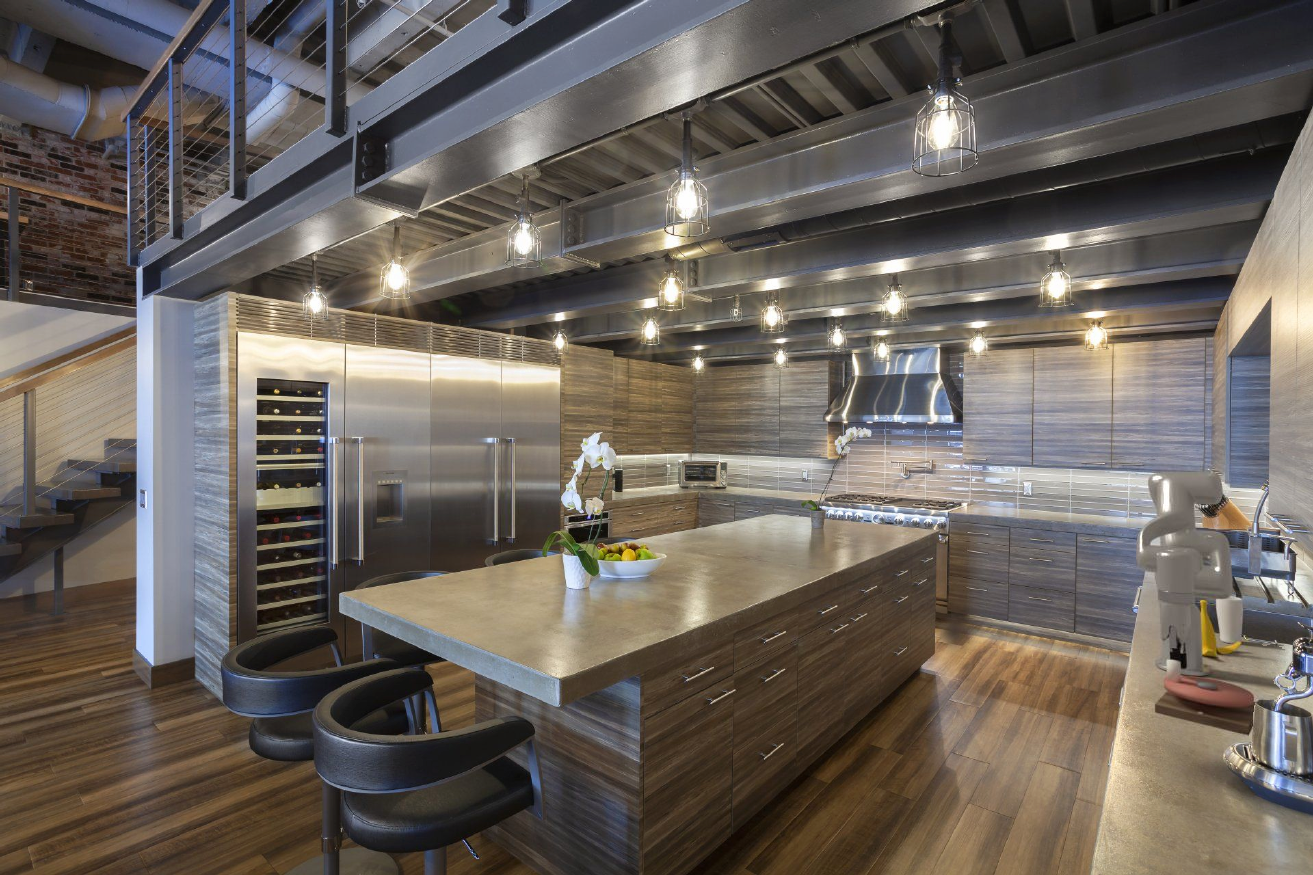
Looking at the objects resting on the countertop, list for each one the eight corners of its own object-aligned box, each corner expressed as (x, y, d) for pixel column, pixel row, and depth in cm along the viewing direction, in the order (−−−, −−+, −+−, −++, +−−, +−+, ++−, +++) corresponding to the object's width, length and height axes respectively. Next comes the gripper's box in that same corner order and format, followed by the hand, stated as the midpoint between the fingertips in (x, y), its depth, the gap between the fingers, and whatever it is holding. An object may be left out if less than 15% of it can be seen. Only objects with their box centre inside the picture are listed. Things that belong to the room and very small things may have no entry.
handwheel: (1172, 676, 169) (1171, 652, 169) (1258, 694, 156) (1257, 668, 156) (1156, 692, 158) (1155, 666, 158) (1248, 713, 145) (1247, 685, 145)
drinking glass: (1250, 644, 209) (1248, 599, 209) (1229, 645, 209) (1227, 600, 209) (1231, 639, 216) (1230, 595, 216) (1212, 639, 216) (1210, 595, 216)
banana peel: (1166, 642, 213) (1164, 593, 214) (1241, 652, 203) (1239, 600, 203) (1171, 656, 200) (1169, 603, 200) (1252, 666, 189) (1250, 611, 189)
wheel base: (1173, 691, 170) (1173, 676, 170) (1261, 711, 157) (1260, 694, 157) (1155, 712, 157) (1154, 695, 157) (1248, 735, 144) (1247, 716, 144)
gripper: (1164, 591, 174) (1167, 657, 173) (1151, 599, 164) (1153, 669, 164) (1200, 595, 168) (1202, 664, 167) (1188, 604, 158) (1190, 677, 158)
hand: (1178, 667), depth 165 cm, fingers closed
